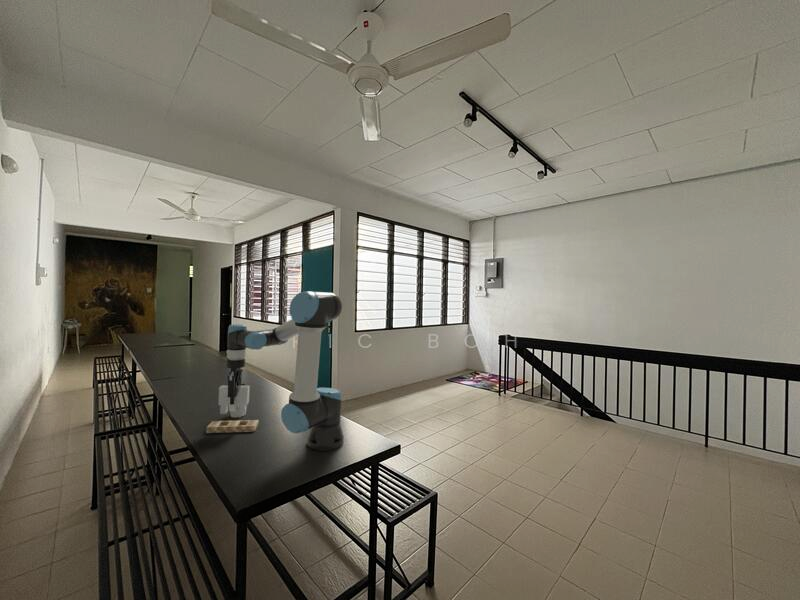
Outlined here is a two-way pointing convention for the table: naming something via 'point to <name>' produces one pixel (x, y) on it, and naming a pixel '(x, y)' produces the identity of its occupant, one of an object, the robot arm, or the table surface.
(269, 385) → the table surface
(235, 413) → the coffee cup
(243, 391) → the grey flat block
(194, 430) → the table surface
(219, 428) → the wooden ladder frame
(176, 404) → the table surface
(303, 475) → the table surface
